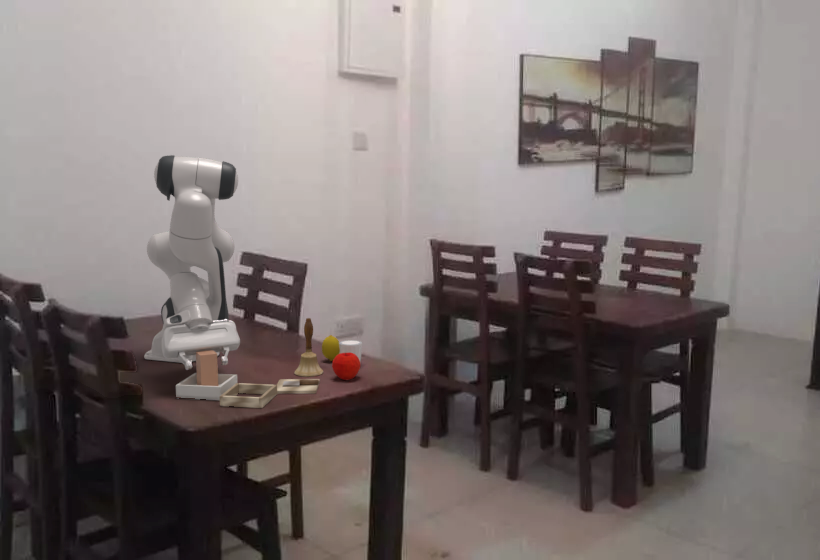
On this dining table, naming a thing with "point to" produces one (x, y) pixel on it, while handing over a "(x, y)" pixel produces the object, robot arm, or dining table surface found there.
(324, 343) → the lemon
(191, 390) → the white square tray
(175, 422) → the dining table surface
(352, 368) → the apple
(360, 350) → the white round tub
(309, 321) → the hand bell
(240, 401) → the birch bin
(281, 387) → the lid with scoop
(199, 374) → the terracotta brick
